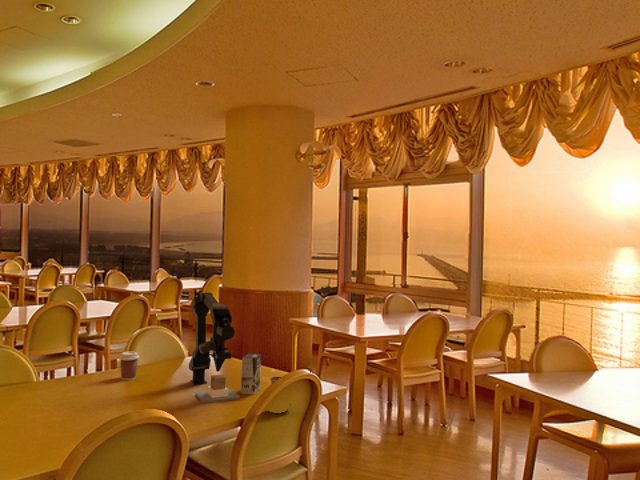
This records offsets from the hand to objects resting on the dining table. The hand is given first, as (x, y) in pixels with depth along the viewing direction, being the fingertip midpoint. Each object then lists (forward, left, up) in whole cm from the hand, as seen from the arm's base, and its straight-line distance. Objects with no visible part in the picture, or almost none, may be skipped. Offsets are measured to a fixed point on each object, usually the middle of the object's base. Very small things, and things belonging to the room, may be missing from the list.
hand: (217, 371), depth 223 cm
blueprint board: (+1, 0, -11) cm, 11 cm away
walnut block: (+1, 0, -7) cm, 7 cm away
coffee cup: (-42, -31, -11) cm, 53 cm away
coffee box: (-2, +16, -11) cm, 20 cm away
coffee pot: (+26, +22, -11) cm, 36 cm away
